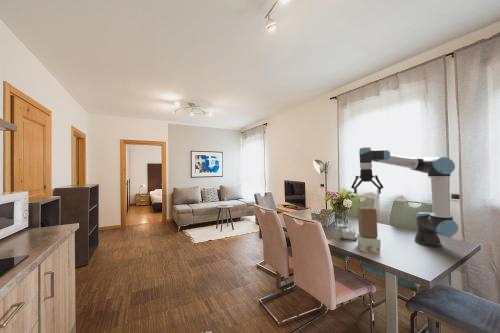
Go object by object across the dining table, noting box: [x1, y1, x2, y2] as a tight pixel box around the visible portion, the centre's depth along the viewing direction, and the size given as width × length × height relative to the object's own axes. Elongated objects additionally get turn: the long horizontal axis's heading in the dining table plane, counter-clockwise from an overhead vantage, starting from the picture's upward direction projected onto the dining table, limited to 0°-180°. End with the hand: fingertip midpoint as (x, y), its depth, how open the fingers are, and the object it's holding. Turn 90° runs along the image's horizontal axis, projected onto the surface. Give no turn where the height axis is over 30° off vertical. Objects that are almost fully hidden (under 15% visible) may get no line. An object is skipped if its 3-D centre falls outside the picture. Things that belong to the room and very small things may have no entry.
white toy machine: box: [340, 223, 358, 242], centre depth 174 cm, size 18×10×12 cm
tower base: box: [357, 240, 381, 254], centre depth 146 cm, size 12×12×5 cm
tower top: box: [356, 232, 382, 248], centre depth 146 cm, size 12×12×5 cm
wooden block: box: [357, 206, 379, 238], centre depth 147 cm, size 10×10×20 cm
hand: (367, 198), depth 147 cm, fingers open, 13 cm apart
